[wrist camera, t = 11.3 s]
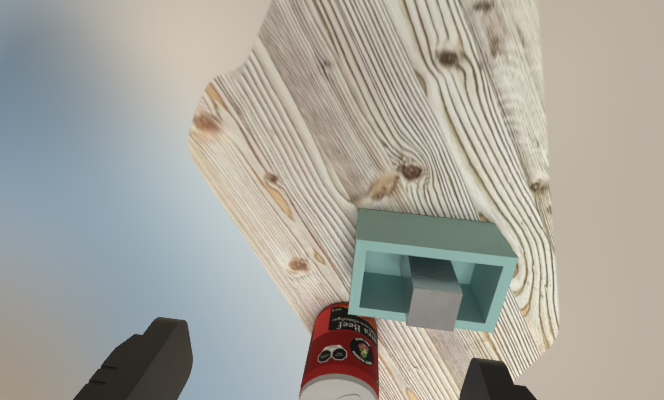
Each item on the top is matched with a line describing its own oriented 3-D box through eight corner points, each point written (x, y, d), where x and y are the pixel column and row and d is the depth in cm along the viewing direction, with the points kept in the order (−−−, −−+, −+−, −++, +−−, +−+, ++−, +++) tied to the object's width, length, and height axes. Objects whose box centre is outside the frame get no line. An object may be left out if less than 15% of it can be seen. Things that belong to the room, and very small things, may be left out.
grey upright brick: (404, 235, 37) (413, 288, 29) (442, 239, 37) (462, 294, 29) (399, 266, 39) (406, 325, 31) (435, 270, 39) (453, 331, 31)
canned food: (390, 322, 43) (395, 406, 33) (350, 358, 46) (345, 445, 36) (339, 289, 42) (329, 366, 32) (302, 328, 45) (282, 409, 35)
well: (359, 208, 37) (356, 239, 31) (494, 223, 36) (518, 258, 30) (351, 274, 41) (348, 314, 35) (474, 289, 40) (493, 332, 34)
